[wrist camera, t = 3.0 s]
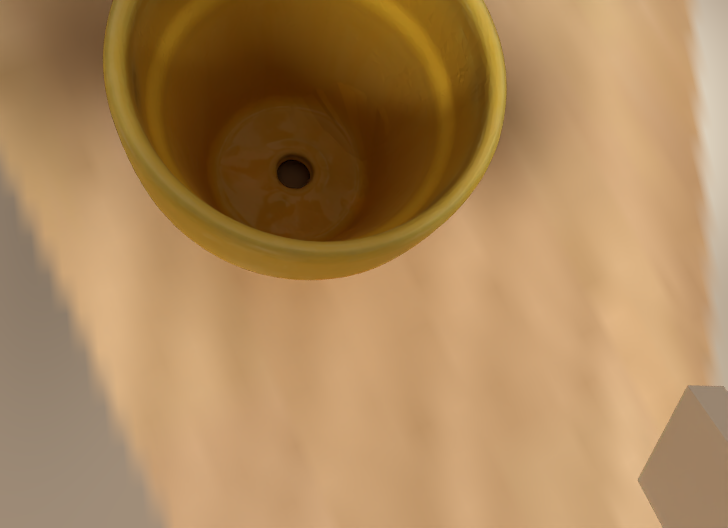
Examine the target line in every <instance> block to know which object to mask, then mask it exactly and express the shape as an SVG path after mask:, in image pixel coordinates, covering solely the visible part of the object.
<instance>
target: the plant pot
mask: <svg viewBox="0 0 728 528" xmlns="http://www.w3.org/2000/svg"><path fill="white" fill-rule="evenodd" d="M103 74H104V82H105V89H106V95H107V100H108V104H109V108H110V111H111V115H112V118H113V121H114V124H115V127H116V130H117V132H118V135H119V137H120V140H121V143H122V145H123V147H124V150H125V152H126V154H127V156H128V158H129V160H130V162H131V164H132V166H133V168H134V171H135V173H136V174H137V176H138V178H139V179H140V181H141V183H142V184H143V186H144V188H145V189H146V191H147V192H148V194H149V195H150V197H151V198H152V200H153V201H154V202H155V204H156V205H157V206H158V208H159V209H160V210H161V211H162V212H163V213H164V214H165V215H166V217H167V218H168V219H169V220H170V221H171V222H172V223H173V224H174V225H175V226H176V227H177V228H178V229H179V230H180V231H181V232H182V233H184V234H185V235H186V236H187V237H189V238H190V239H191V240H192V241H194V242H195V243H197V244H198V245H199V246H201V247H202V248H204V249H205V250H207V251H208V252H210V253H212V254H214V255H215V256H217V257H219V258H221V259H223V260H225V261H227V262H229V263H231V264H234V265H236V266H238V267H241V268H243V269H246V270H249V271H252V272H256V273H259V274H263V275H268V276H273V277H277V278H285V279H294V280H323V279H334V278H341V277H347V276H351V275H355V274H359V273H362V272H365V271H368V270H371V269H374V268H376V267H378V266H381V265H383V264H385V263H387V262H389V261H391V260H393V259H394V258H396V257H398V256H400V255H401V254H403V253H405V252H406V251H408V250H409V249H411V248H412V247H414V246H415V245H417V244H418V243H420V242H421V241H422V240H424V239H425V238H426V237H428V236H429V235H430V234H431V233H433V232H434V231H435V230H436V229H437V228H438V227H440V226H441V225H442V224H443V223H444V222H446V221H447V220H448V219H449V218H450V217H451V216H452V215H453V214H454V213H455V212H456V211H457V210H458V209H459V208H460V206H461V205H462V204H463V203H464V202H465V201H466V200H467V198H468V197H469V196H470V195H471V193H472V192H473V190H474V189H475V188H476V186H477V185H478V183H479V182H480V181H481V179H482V177H483V175H484V174H485V172H486V170H487V168H488V166H489V164H490V162H491V160H492V157H493V155H494V153H495V150H496V148H497V145H498V142H499V138H500V134H501V130H502V126H503V121H504V114H505V107H506V94H507V91H506V69H505V63H504V56H503V52H502V48H501V43H500V39H499V36H498V34H497V31H496V28H495V25H494V23H493V20H492V18H491V15H490V13H489V11H488V9H487V7H486V5H485V3H484V1H483V0H113V2H112V5H111V8H110V12H109V16H108V20H107V24H106V30H105V37H104V47H103ZM286 160H297V161H299V162H302V163H303V164H304V165H305V166H306V167H307V168H308V170H309V172H310V180H309V182H308V184H307V185H305V186H304V187H303V188H299V189H293V188H288V187H286V186H284V185H283V184H282V183H281V182H280V181H279V179H278V176H277V170H278V167H279V165H280V164H281V163H282V162H284V161H286Z"/></svg>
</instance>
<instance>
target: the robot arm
mask: <svg viewBox="0 0 728 528" xmlns="http://www.w3.org/2000/svg"><path fill="white" fill-rule="evenodd" d="M638 482H639V484H640V486H641V487H642V489H643V491H644V493H645V495H646V497H647V499H648V501H649V502H650V504H651V506H652V508H653V510H654V512H655V514H656V516H657V518H658V519H659V521H660V523H661V525H662V527H663V528H728V391H727V390H726V389H725V388H724V386H687V388H686V390H685V391H684V393H683V395H682V397H681V399H680V401H679V403H678V405H677V406H676V408H675V410H674V412H673V414H672V416H671V418H670V420H669V422H668V423H667V425H666V427H665V429H664V431H663V433H662V435H661V437H660V438H659V440H658V442H657V444H656V446H655V448H654V450H653V452H652V454H651V455H650V457H649V459H648V461H647V463H646V465H645V467H644V469H643V470H642V472H641V474H640V476H639V478H638Z"/></svg>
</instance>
